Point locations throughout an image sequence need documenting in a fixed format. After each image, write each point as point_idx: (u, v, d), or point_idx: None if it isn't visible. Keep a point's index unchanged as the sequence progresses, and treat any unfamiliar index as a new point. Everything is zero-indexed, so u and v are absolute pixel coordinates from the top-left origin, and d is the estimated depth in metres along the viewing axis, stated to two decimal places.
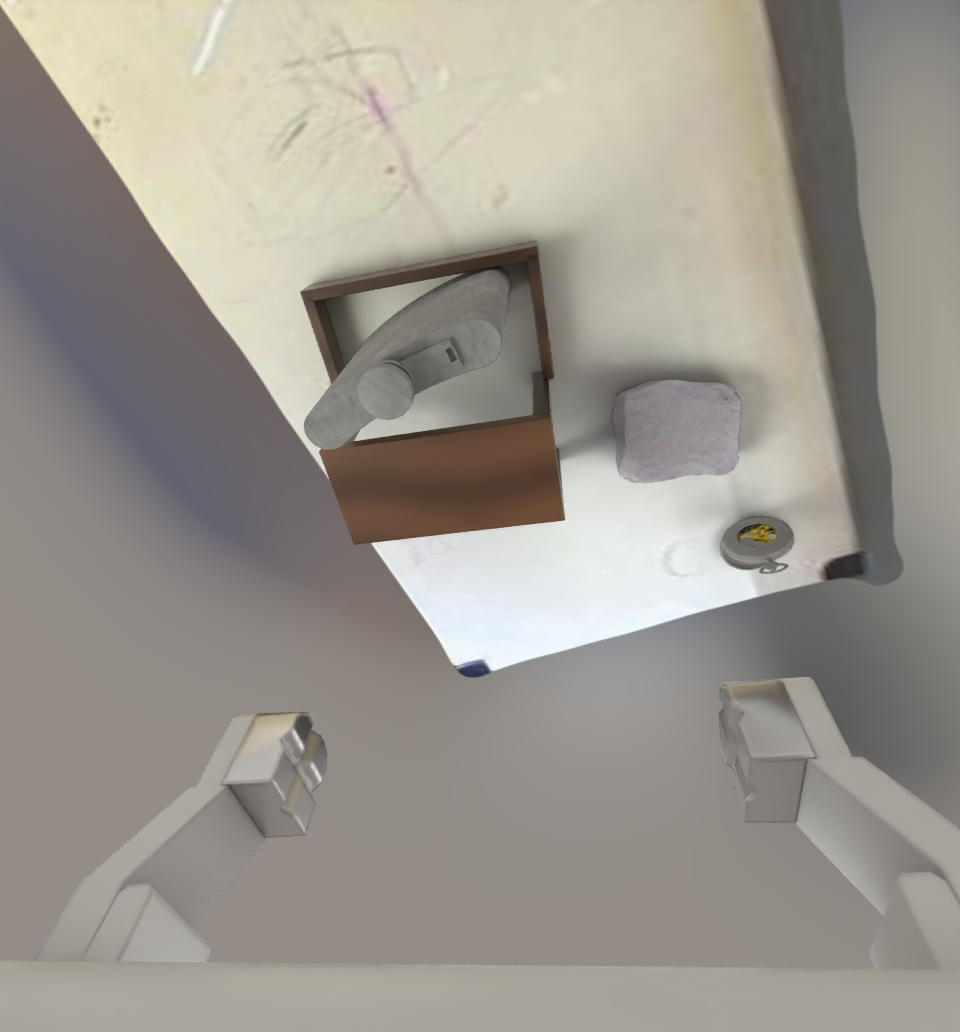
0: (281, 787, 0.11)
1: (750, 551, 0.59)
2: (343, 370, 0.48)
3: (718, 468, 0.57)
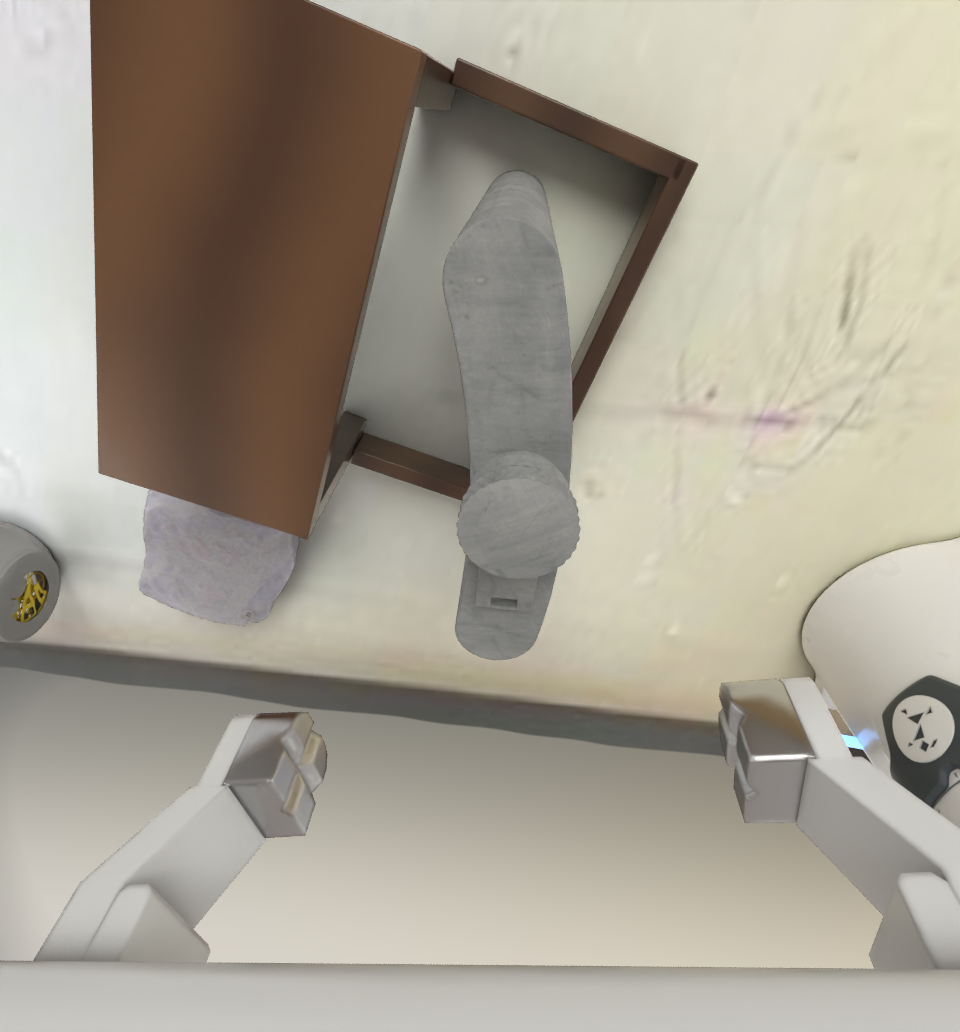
0: (280, 787, 0.11)
1: (1, 603, 0.40)
2: None
3: (150, 586, 0.42)
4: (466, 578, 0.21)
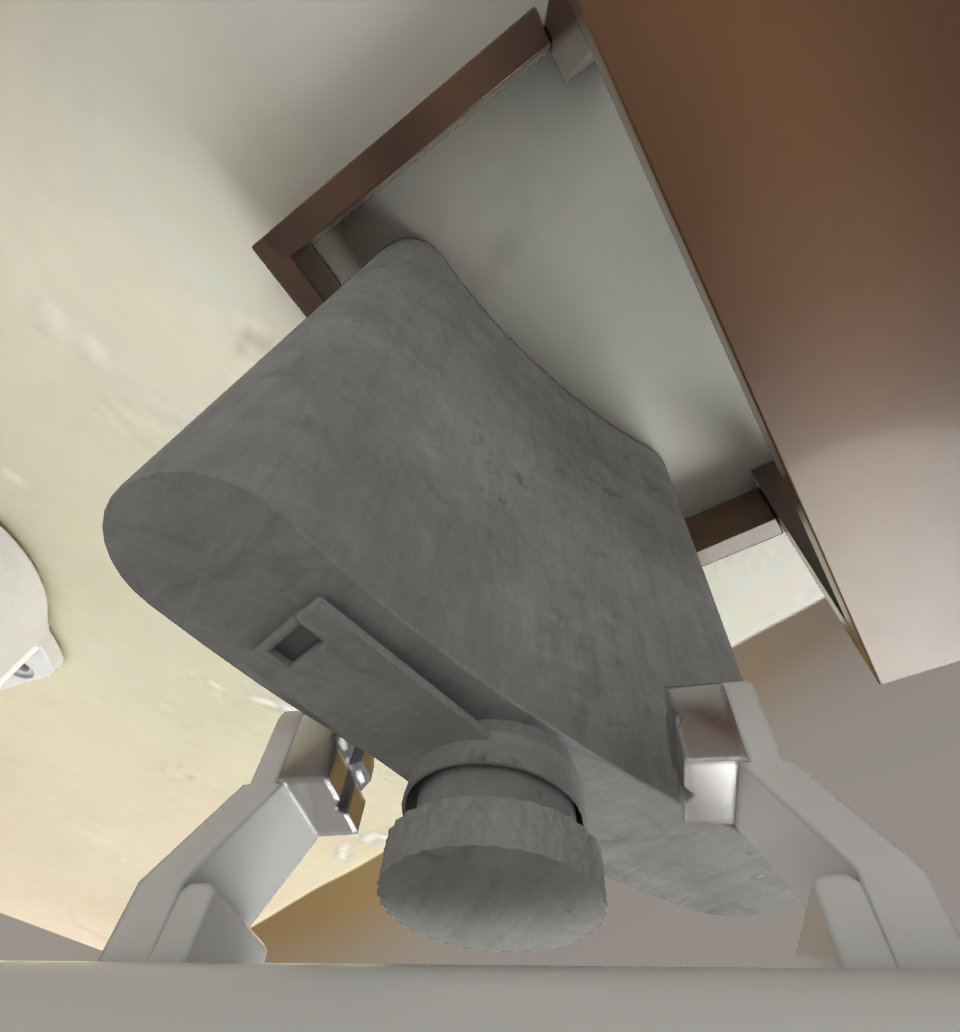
0: (335, 784, 0.11)
1: None
2: None
3: None
4: (392, 614, 0.09)
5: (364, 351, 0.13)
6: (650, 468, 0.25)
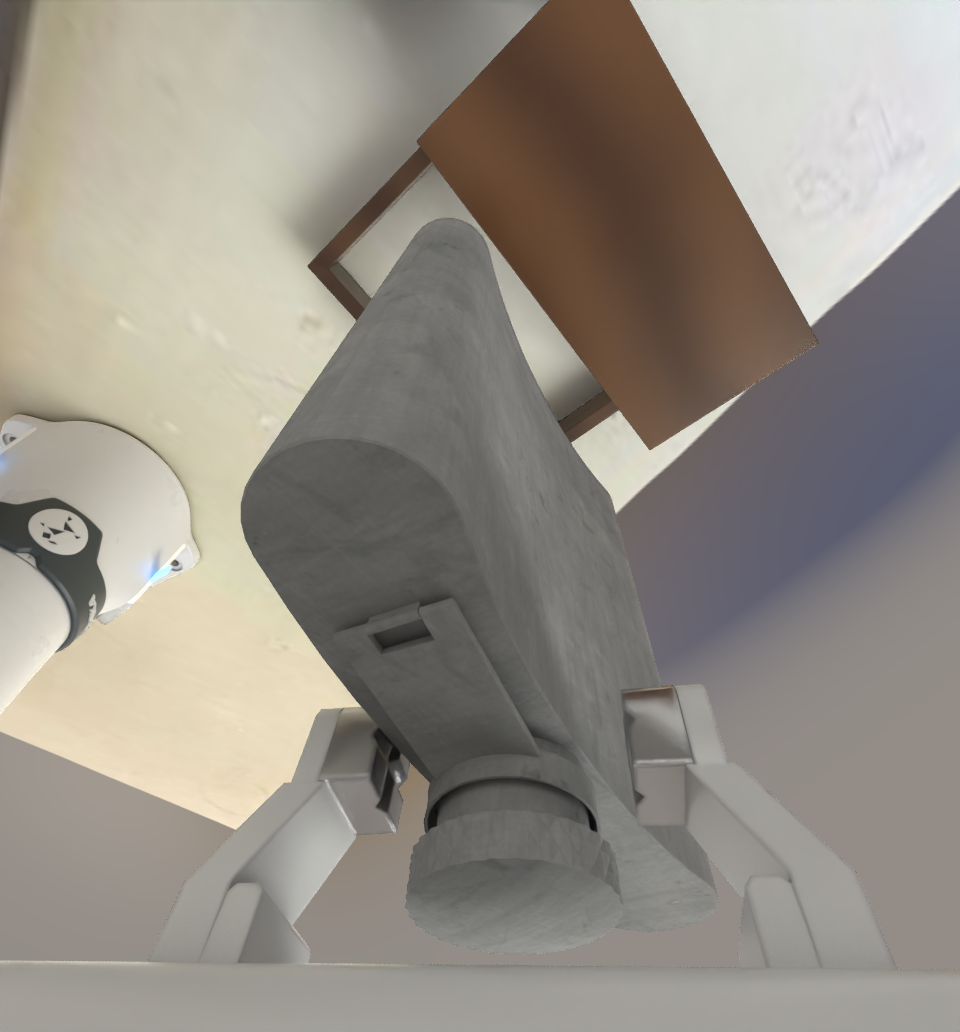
0: (376, 783, 0.10)
1: None
2: None
3: None
4: (505, 628, 0.09)
5: (470, 345, 0.13)
6: (607, 509, 0.26)
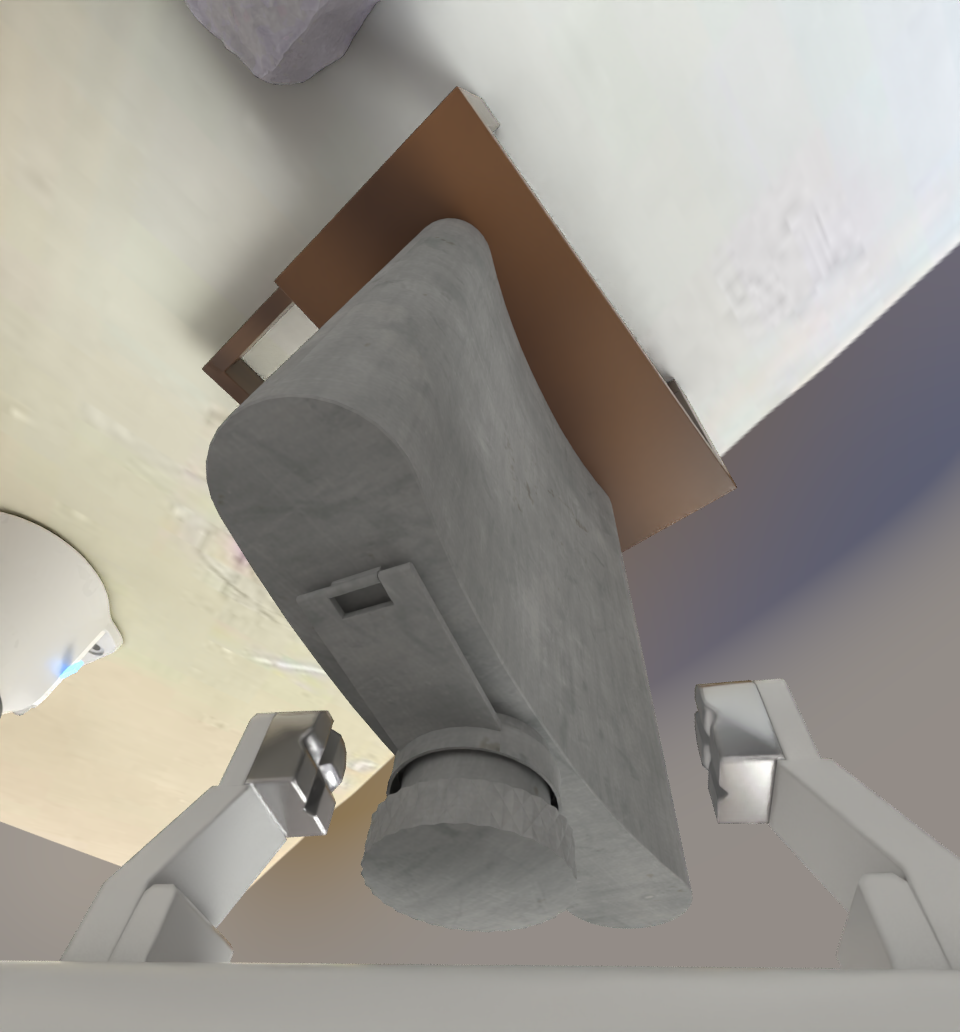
0: (302, 786, 0.11)
1: None
2: None
3: None
4: (465, 596, 0.09)
5: (453, 330, 0.13)
6: (605, 510, 0.26)
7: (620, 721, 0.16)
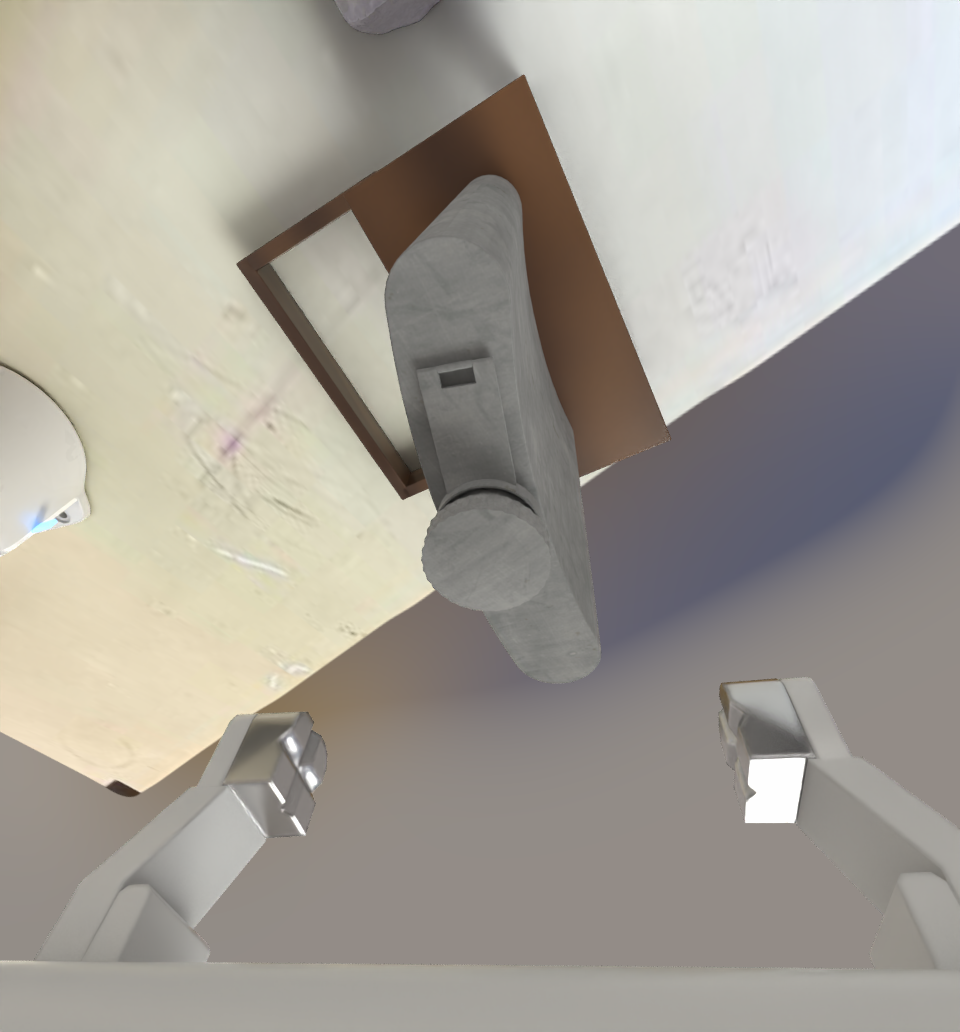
0: (280, 787, 0.11)
1: None
2: None
3: None
4: (516, 389, 0.16)
5: (514, 243, 0.19)
6: (570, 436, 0.33)
7: (571, 545, 0.23)
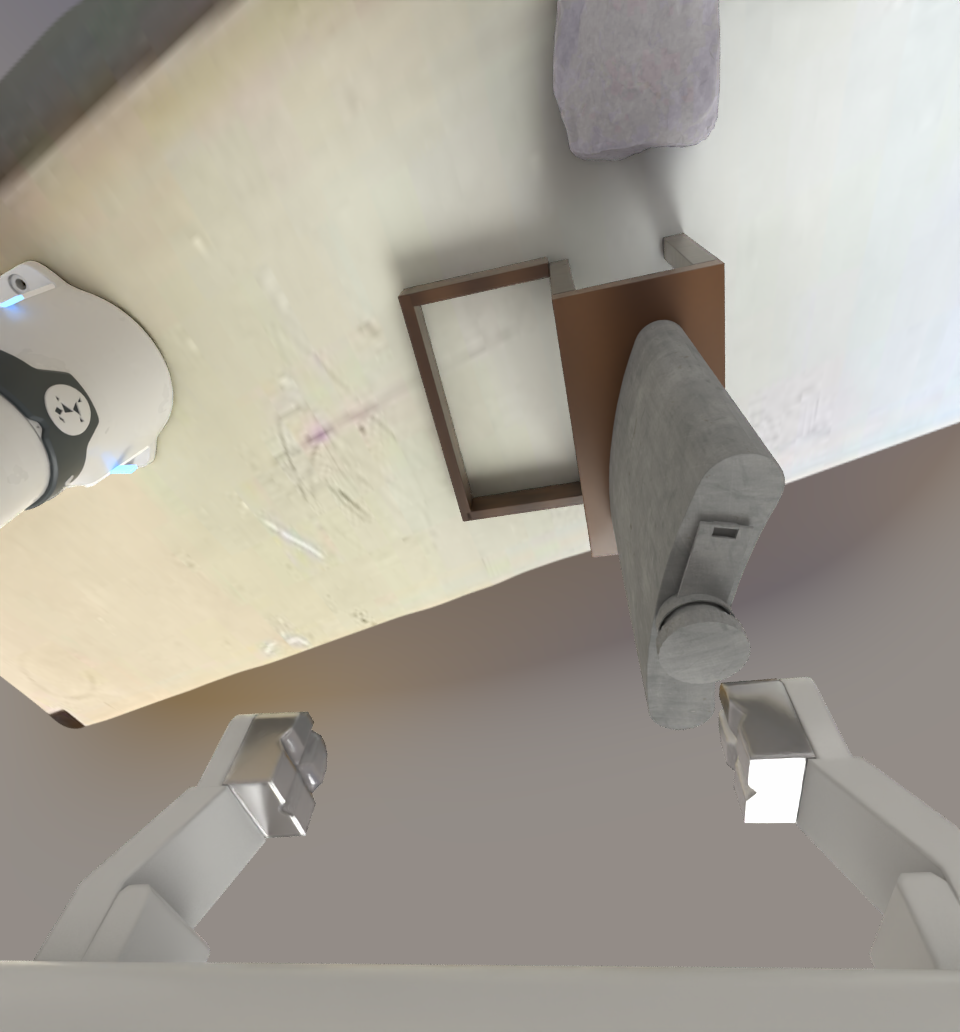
0: (280, 786, 0.11)
1: None
2: (627, 597, 0.36)
3: None
4: (753, 546, 0.24)
5: None
6: None
7: None
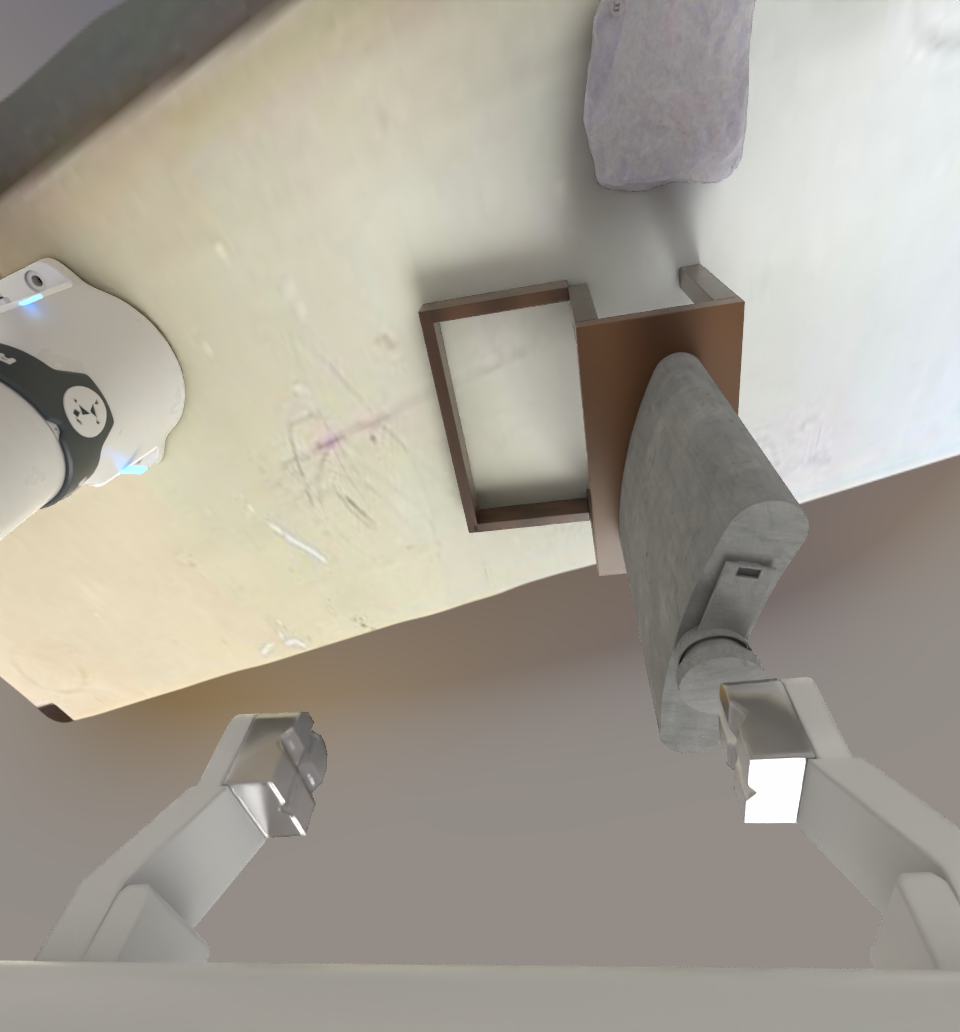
0: (280, 787, 0.11)
1: None
2: (637, 620, 0.37)
3: None
4: (774, 585, 0.25)
5: None
6: None
7: None
